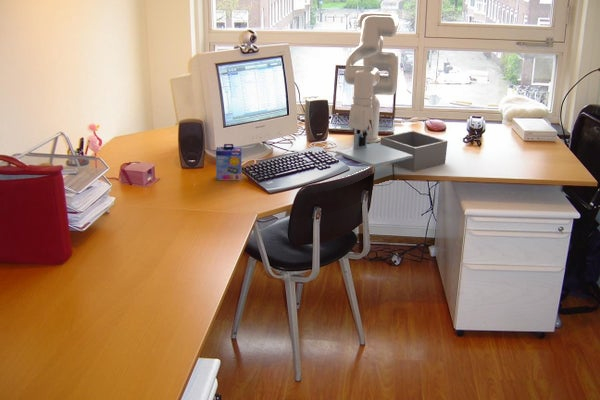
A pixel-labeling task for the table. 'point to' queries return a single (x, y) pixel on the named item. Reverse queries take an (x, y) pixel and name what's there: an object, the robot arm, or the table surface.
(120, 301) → the table surface
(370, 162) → the lid
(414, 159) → the tub
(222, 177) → the ink cartridge box
